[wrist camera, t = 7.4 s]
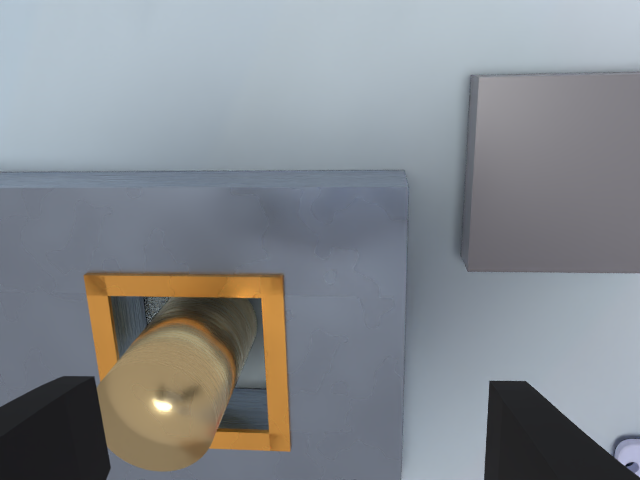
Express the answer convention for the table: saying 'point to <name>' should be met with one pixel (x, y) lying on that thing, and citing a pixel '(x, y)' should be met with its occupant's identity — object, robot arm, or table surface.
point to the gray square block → (553, 173)
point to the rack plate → (227, 282)
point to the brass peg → (176, 381)
